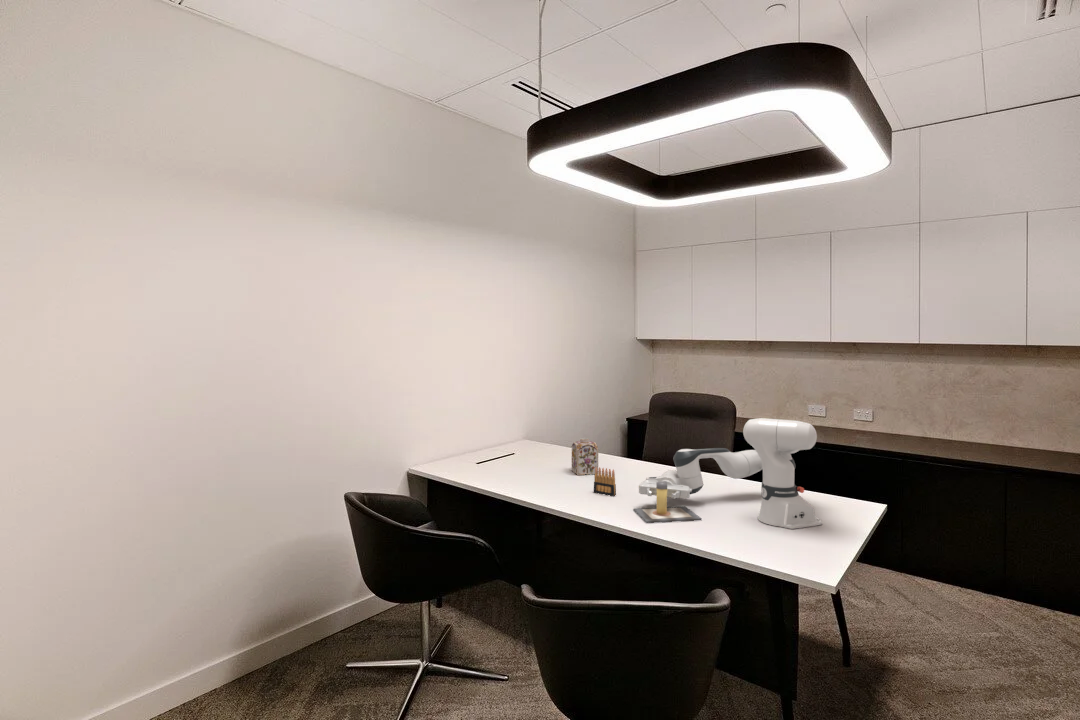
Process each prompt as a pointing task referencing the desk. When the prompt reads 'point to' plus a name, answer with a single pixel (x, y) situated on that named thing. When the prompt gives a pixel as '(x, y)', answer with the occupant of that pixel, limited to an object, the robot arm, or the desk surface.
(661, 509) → the marker
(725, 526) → the desk surface
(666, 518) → the grey metal tray
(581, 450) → the decorative jar
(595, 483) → the ammunition clip
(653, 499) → the desk surface
